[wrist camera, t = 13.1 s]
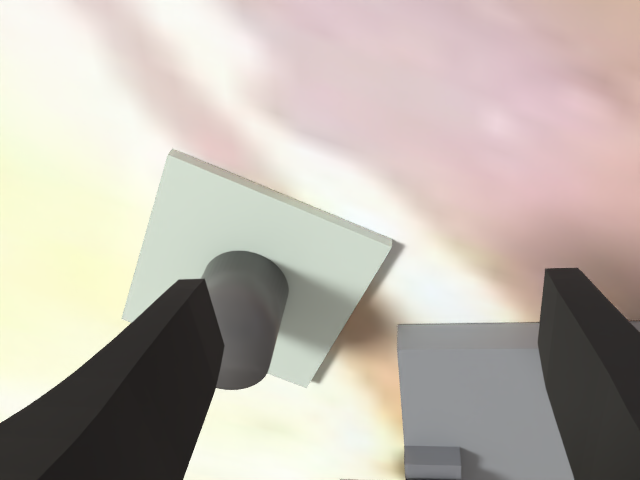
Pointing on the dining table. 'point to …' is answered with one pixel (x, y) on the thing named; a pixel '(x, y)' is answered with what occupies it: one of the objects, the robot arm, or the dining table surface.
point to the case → (477, 404)
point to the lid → (255, 268)
